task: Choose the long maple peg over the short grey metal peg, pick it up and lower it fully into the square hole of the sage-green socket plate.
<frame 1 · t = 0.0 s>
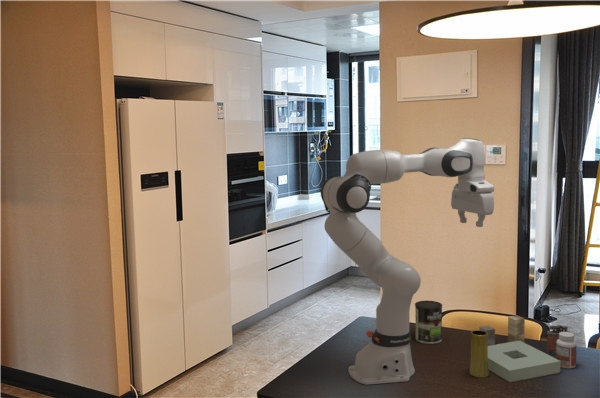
hand: (471, 224, 196), 48 cm above the table, tool pointing down, fingers open, 8 cm apart
socket plate: (514, 365, 193), on the table
vase: (479, 374, 187), on the table
coffee can: (428, 339, 220), on the table
short peg: (486, 343, 214), on the table
lighter: (558, 352, 203), on the table
pill bottle: (565, 365, 192), on the table
long peg: (515, 349, 207), on the table
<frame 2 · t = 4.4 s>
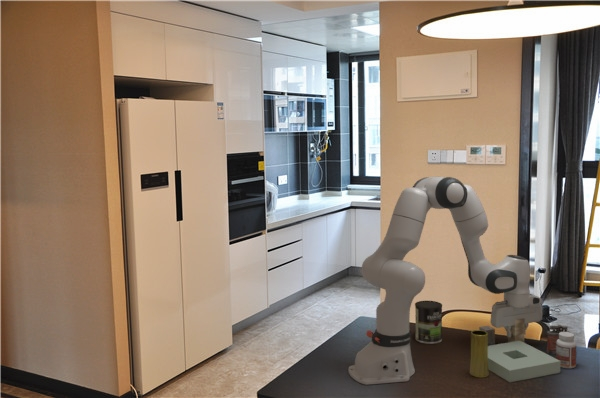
hand: (516, 335, 207), 5 cm above the table, tool pointing down, fingers closed on long peg, 4 cm apart
long peg: (516, 349, 207), on the table, touching gripper
everything else where it was.
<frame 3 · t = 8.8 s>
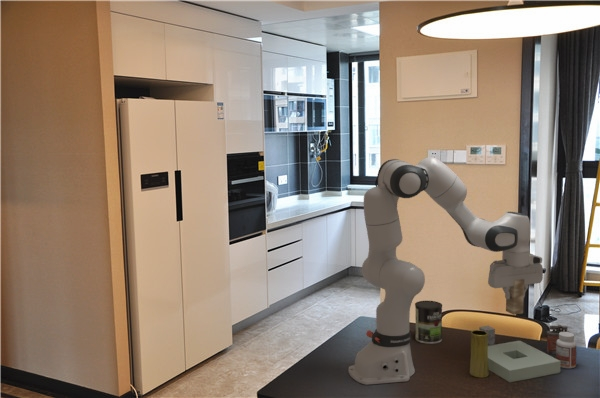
hand: (515, 297, 195), 22 cm above the table, tool pointing down, fingers closed on long peg, 4 cm apart
long peg: (514, 312, 196), point 17 cm above the table, touching gripper
everything else where it was.
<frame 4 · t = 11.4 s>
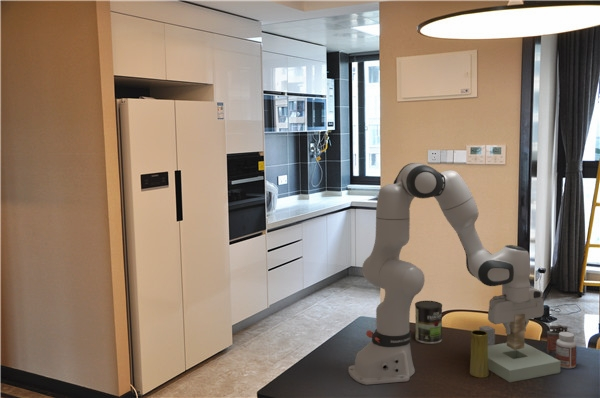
hand: (515, 332, 191), 12 cm above the table, tool pointing down, fingers closed on long peg, 4 cm apart
long peg: (515, 346, 192), point 7 cm above the table, touching gripper
everything else where it was.
when the fingers open (7 cm above the table, at t = 13.5 s): long peg drops 1 cm, resting in socket plate.
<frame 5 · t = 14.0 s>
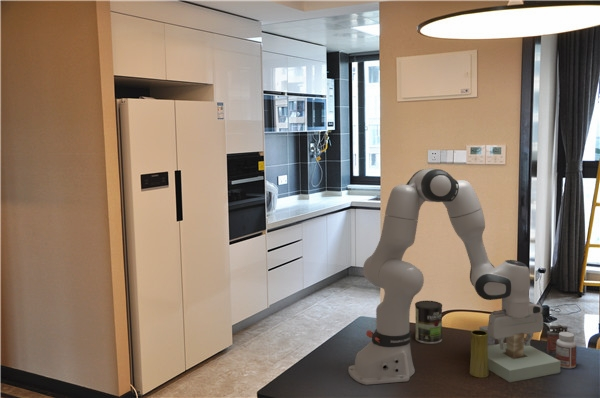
hand: (515, 347, 192), 7 cm above the table, tool pointing down, fingers open, 8 cm apart
long peg: (514, 365, 193), resting in socket plate
everything else where it was.
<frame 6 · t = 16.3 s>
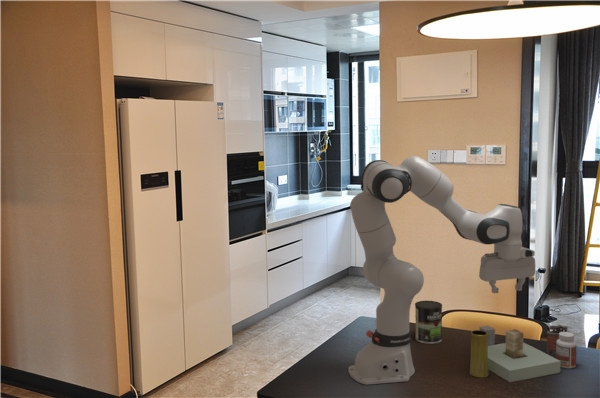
hand: (506, 291, 192), 26 cm above the table, tool pointing down, fingers open, 8 cm apart
nothing on the table moved.
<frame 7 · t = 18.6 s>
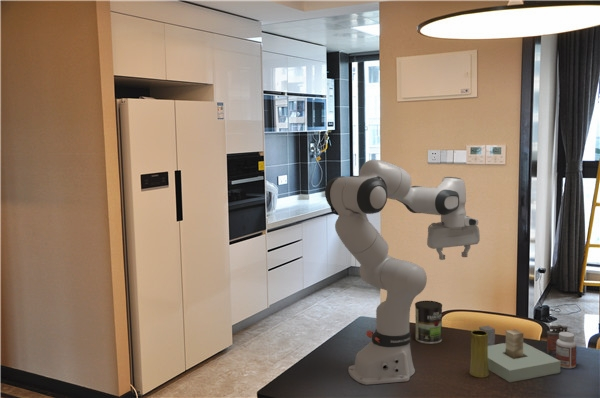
hand: (453, 258, 207), 34 cm above the table, tool pointing down, fingers open, 8 cm apart
nothing on the table moved.
at the end: long peg 0.3 cm off-centre on the socket plate, point 0.0 cm above the socket plate's base; long peg tilted 0°; short peg moved 0.1 cm from its start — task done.
